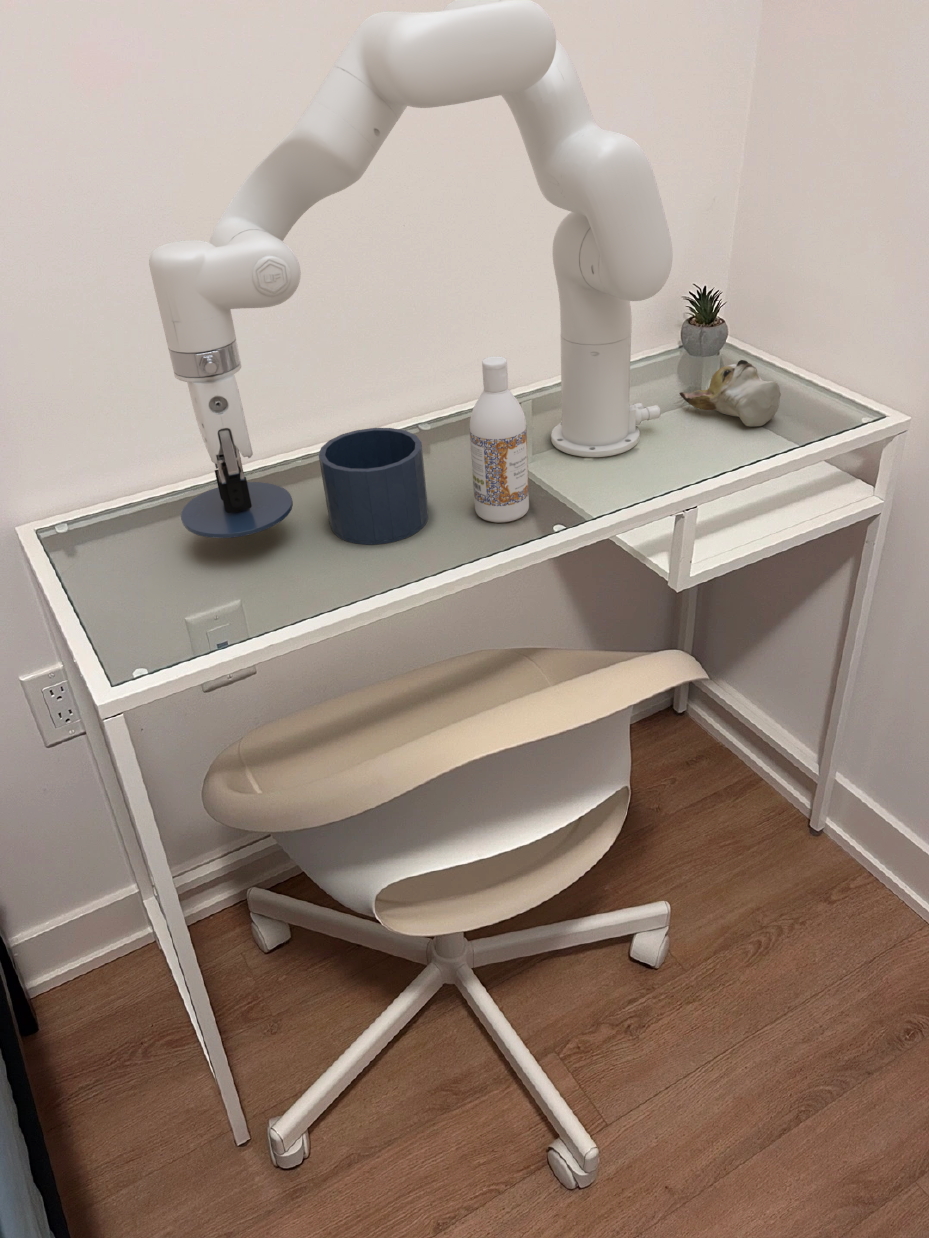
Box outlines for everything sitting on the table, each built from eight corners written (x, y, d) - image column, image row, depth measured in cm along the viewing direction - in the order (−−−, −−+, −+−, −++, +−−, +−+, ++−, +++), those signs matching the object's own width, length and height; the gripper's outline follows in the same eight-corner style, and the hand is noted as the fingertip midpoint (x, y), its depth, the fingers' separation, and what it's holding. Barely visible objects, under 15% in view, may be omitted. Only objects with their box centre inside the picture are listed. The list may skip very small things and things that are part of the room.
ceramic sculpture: (747, 379, 137) (676, 356, 148) (743, 440, 141) (675, 412, 153) (805, 362, 141) (732, 341, 152) (800, 422, 145) (730, 396, 157)
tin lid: (281, 482, 131) (273, 438, 128) (304, 527, 121) (296, 480, 117) (176, 503, 128) (165, 459, 125) (190, 552, 117) (178, 505, 114)
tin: (411, 489, 136) (403, 420, 130) (441, 531, 126) (435, 458, 120) (320, 509, 133) (309, 439, 127) (344, 554, 123) (332, 480, 117)
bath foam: (503, 530, 125) (494, 375, 114) (464, 513, 129) (452, 362, 118) (540, 509, 129) (536, 357, 118) (501, 493, 133) (493, 346, 122)
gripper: (251, 375, 108) (279, 526, 118) (227, 332, 121) (255, 471, 131) (180, 388, 106) (215, 540, 116) (164, 343, 119) (197, 483, 129)
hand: (236, 502), depth 123 cm, fingers closed on tin lid, 2 cm apart
